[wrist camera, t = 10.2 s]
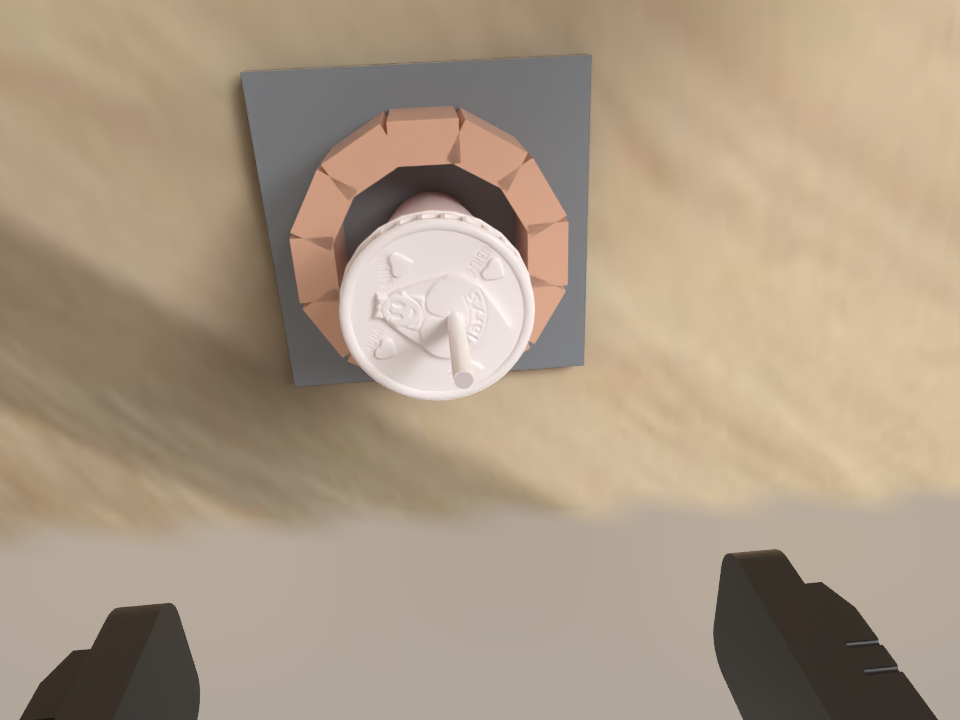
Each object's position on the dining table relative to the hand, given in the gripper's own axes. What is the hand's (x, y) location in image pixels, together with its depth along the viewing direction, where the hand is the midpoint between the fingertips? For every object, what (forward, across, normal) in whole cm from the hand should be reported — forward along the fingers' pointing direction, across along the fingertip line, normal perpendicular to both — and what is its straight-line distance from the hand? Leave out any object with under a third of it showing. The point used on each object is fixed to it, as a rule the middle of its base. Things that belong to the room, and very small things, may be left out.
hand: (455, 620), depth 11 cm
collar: (+24, 0, +1) cm, 24 cm away
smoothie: (+23, 0, +1) cm, 23 cm away
